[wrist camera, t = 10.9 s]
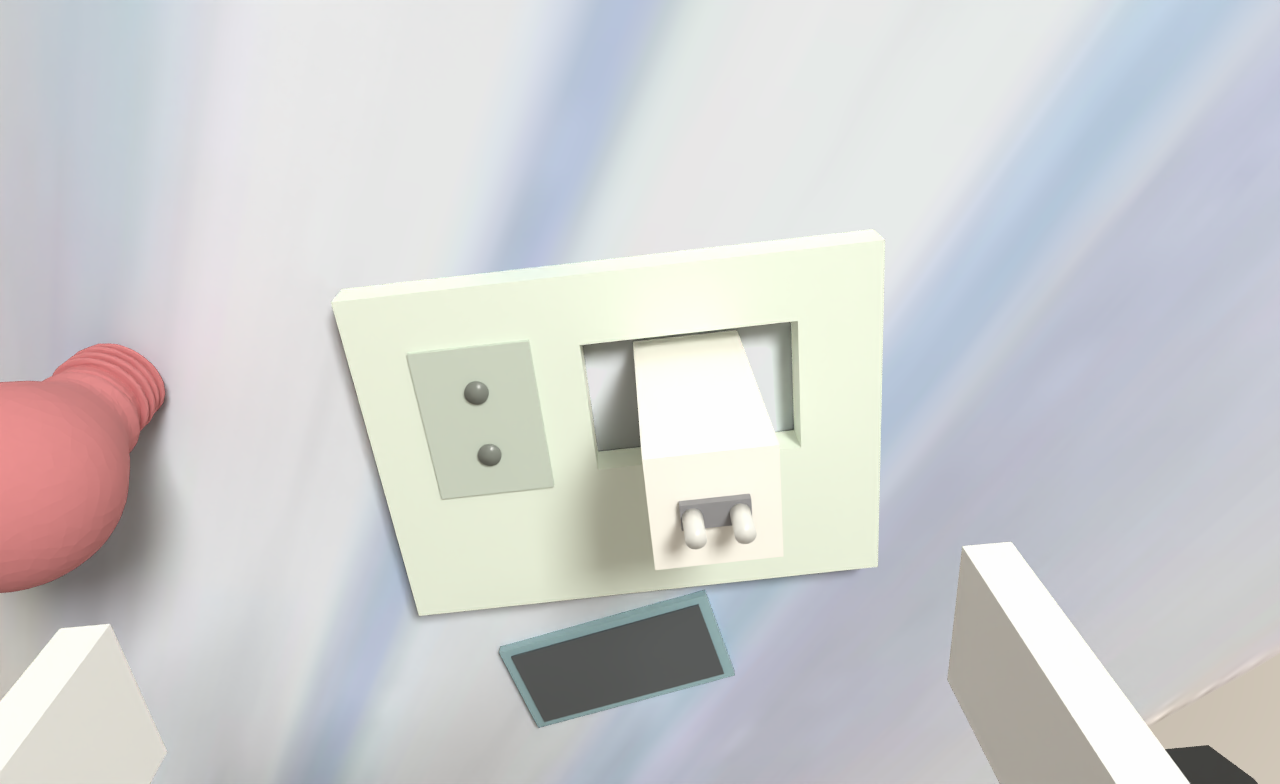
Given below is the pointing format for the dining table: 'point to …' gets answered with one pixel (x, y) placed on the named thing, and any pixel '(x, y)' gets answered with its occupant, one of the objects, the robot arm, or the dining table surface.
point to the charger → (706, 452)
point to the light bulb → (69, 460)
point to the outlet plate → (563, 420)
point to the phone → (619, 659)
